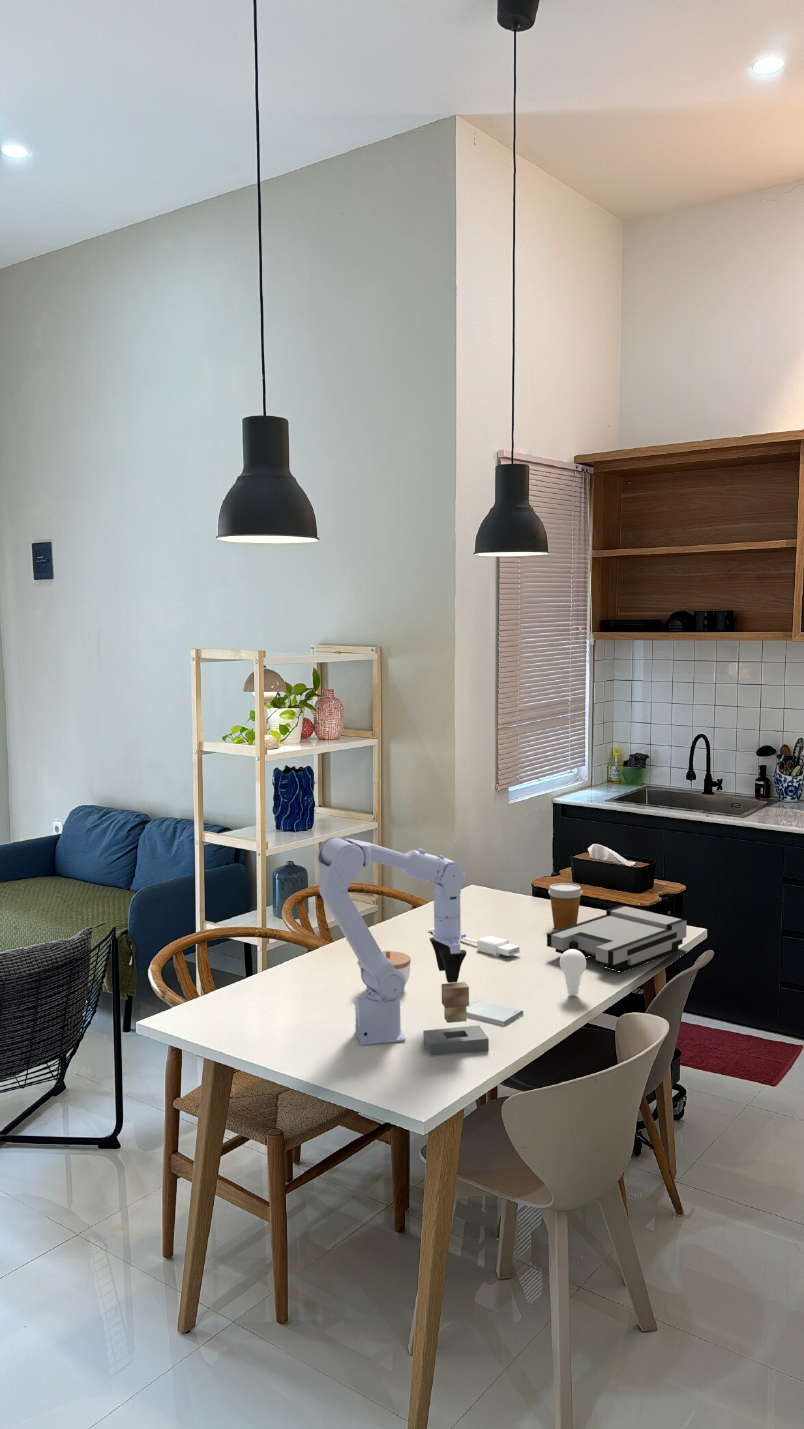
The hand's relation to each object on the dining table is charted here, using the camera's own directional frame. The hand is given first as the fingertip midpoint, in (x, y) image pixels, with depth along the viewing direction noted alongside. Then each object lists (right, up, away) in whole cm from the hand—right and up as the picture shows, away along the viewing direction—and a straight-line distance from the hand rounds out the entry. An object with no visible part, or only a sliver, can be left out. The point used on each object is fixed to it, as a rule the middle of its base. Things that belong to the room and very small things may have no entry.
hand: (447, 976), depth 219 cm
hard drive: (+10, -11, +6) cm, 15 cm away
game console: (+46, -7, +46) cm, 65 cm away
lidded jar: (-13, -9, +22) cm, 27 cm away
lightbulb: (+30, -9, +16) cm, 35 cm away
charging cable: (+9, -6, +55) cm, 56 cm away
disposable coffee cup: (+37, -4, +69) cm, 78 cm away
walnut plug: (+1, -6, -12) cm, 14 cm away
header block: (+1, -11, -12) cm, 16 cm away
